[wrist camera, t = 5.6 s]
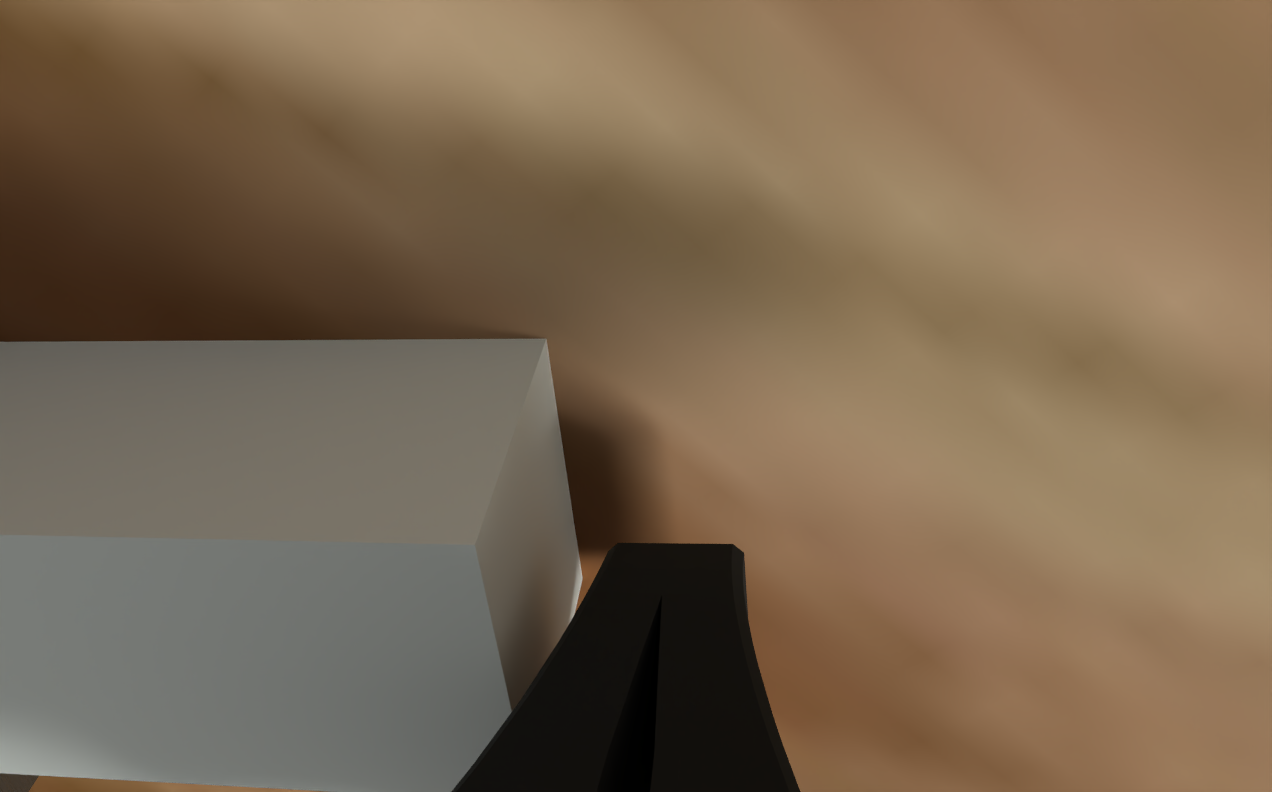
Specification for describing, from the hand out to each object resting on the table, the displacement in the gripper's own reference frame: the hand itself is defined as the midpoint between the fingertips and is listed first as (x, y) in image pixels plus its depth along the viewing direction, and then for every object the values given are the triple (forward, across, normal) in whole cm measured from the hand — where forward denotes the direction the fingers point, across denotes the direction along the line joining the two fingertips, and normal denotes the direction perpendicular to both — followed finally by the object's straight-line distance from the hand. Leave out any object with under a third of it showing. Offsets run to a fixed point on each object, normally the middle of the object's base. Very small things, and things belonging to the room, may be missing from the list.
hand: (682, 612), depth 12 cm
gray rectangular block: (+2, +7, -1) cm, 8 cm away
